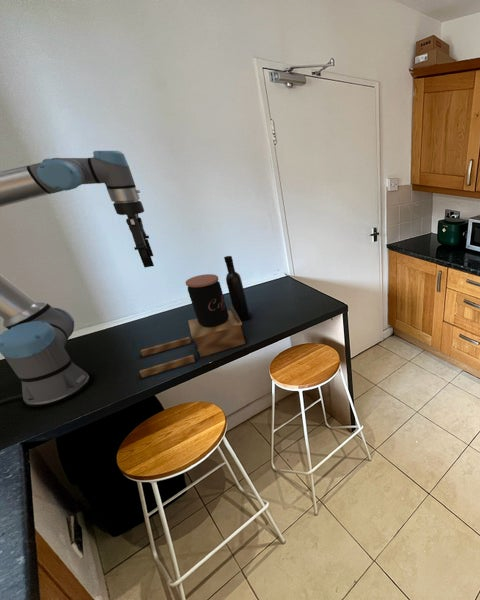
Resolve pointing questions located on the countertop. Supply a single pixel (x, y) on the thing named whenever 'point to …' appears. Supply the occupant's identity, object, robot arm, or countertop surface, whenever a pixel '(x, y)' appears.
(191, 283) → the coffee jar
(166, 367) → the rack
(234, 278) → the wine bottle
